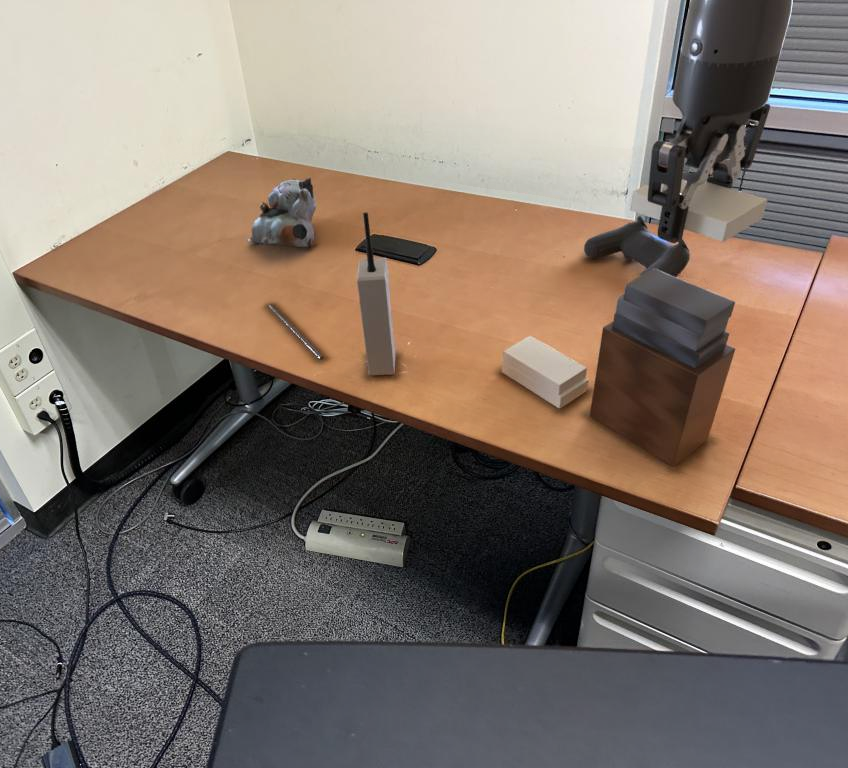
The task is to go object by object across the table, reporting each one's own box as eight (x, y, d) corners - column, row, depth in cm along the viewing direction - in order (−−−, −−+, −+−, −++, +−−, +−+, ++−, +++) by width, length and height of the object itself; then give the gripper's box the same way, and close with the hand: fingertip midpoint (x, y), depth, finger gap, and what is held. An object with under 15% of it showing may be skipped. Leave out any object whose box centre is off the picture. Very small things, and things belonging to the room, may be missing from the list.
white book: (762, 218, 65) (768, 199, 63) (722, 242, 62) (727, 222, 61) (668, 189, 72) (671, 171, 70) (629, 210, 69) (632, 191, 68)
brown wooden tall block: (707, 440, 82) (750, 301, 70) (672, 467, 80) (710, 328, 67) (623, 392, 91) (647, 260, 78) (589, 415, 88) (609, 283, 75)
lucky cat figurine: (241, 240, 138) (248, 169, 134) (297, 247, 143) (306, 178, 139) (261, 250, 125) (270, 170, 121) (322, 256, 129) (333, 181, 126)
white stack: (587, 390, 92) (590, 368, 89) (559, 409, 90) (562, 387, 87) (528, 356, 99) (530, 334, 96) (501, 372, 97) (502, 351, 94)
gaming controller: (656, 309, 107) (707, 265, 106) (646, 288, 103) (698, 242, 102) (587, 264, 120) (632, 223, 118) (576, 244, 116) (622, 201, 114)
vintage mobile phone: (395, 354, 103) (381, 200, 87) (394, 375, 99) (379, 218, 83) (370, 355, 104) (352, 202, 88) (368, 376, 100) (349, 220, 84)
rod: (272, 306, 119) (271, 303, 118) (323, 359, 105) (323, 356, 105) (268, 307, 118) (267, 304, 118) (319, 361, 105) (319, 357, 104)
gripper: (720, 77, 52) (679, 268, 63) (825, 29, 57) (770, 213, 68) (635, 62, 57) (610, 241, 68) (739, 19, 62) (700, 191, 73)
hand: (691, 226), depth 68 cm, fingers closed on white book, 6 cm apart
